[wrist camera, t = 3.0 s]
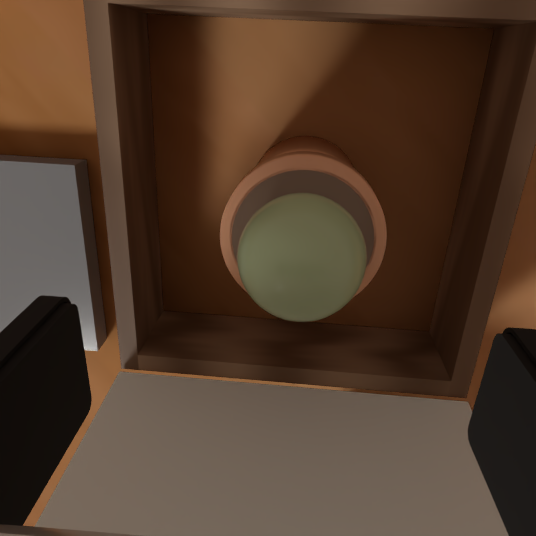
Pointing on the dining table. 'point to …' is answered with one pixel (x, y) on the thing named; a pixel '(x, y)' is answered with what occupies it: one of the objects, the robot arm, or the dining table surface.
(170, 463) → the frame lid
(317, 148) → the terracotta pot
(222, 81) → the dining table surface
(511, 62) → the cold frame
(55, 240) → the slate tile
